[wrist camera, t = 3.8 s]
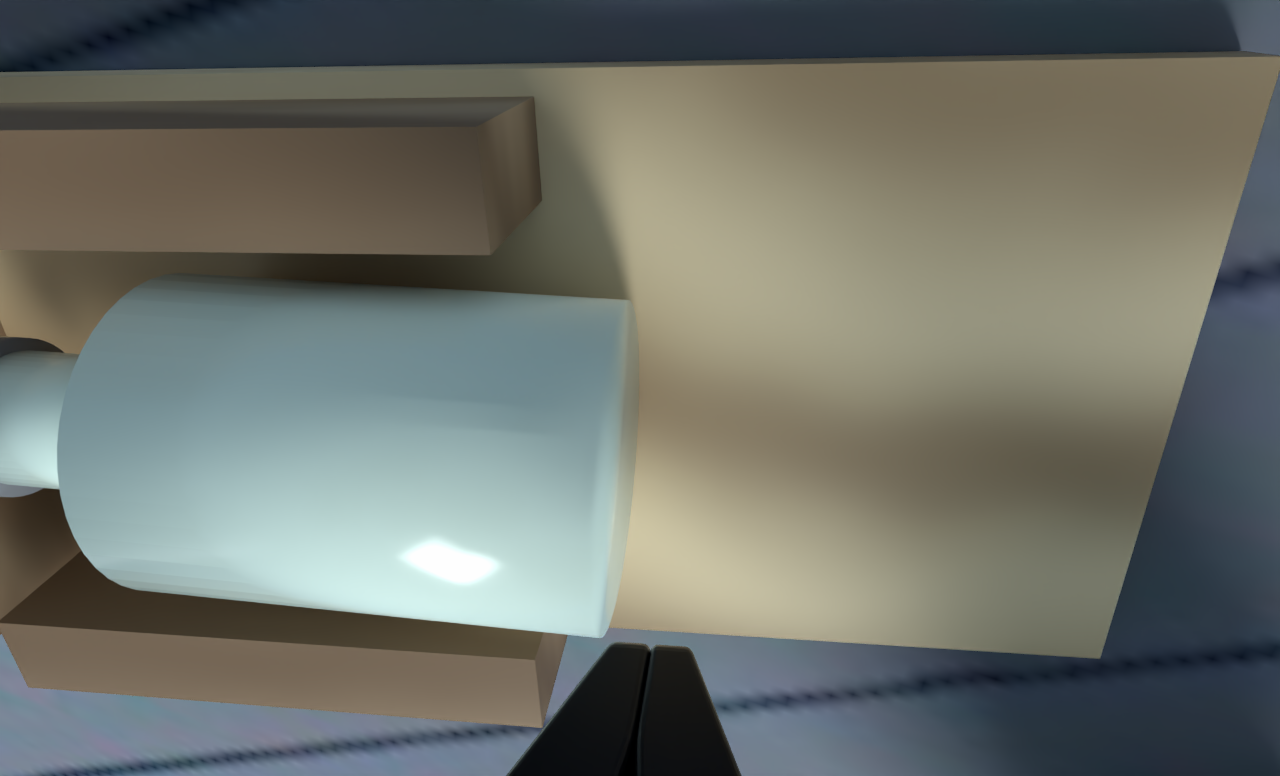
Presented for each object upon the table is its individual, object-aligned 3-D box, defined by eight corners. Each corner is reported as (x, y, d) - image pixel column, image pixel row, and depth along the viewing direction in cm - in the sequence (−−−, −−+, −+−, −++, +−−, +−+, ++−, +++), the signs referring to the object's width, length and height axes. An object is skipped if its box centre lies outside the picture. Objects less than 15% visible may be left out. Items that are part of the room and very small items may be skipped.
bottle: (590, 716, 11) (-99, 638, 12) (635, 514, 15) (133, 469, 17) (588, 381, 9) (-243, 322, 10) (642, 260, 13) (66, 228, 14)
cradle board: (1080, 623, 17) (1187, 822, 13) (71, 563, 19) (-104, 713, 15) (1243, 51, 12) (1496, 83, 8) (-135, 74, 15) (-469, 107, 11)
